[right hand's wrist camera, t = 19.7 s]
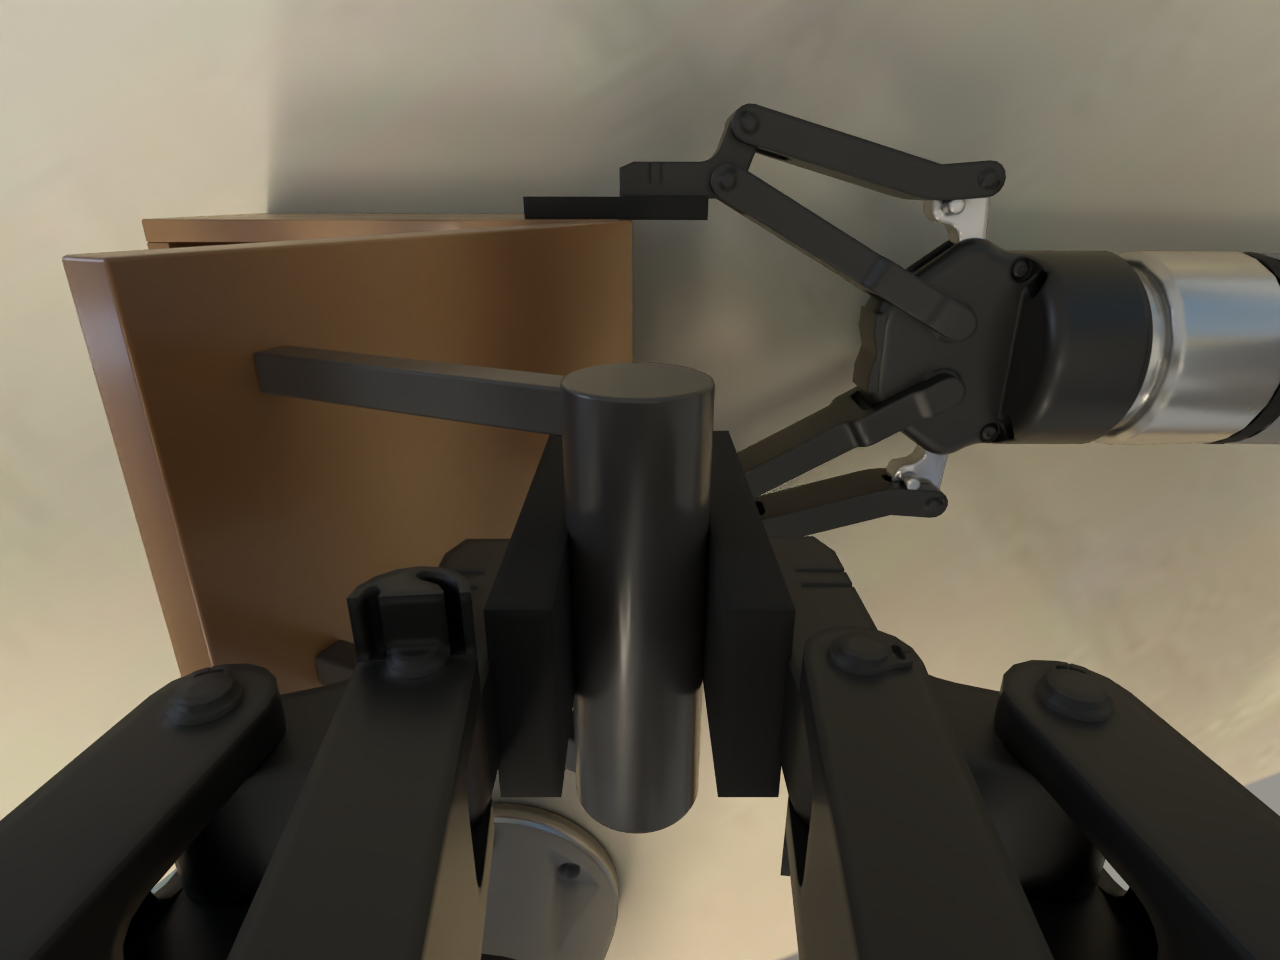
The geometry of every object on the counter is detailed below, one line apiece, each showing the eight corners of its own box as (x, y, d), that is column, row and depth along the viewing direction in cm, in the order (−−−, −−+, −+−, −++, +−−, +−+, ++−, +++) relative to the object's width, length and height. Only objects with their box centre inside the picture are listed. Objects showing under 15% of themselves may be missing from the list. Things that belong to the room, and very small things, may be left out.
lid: (214, 799, 13) (639, 994, 10) (57, 254, 10) (641, 285, 7) (610, 486, 28) (837, 525, 25) (605, 219, 24) (871, 223, 21)
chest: (299, 420, 36) (204, 485, 28) (261, 213, 32) (140, 219, 24) (622, 418, 36) (621, 483, 28) (620, 213, 33) (619, 219, 25)
